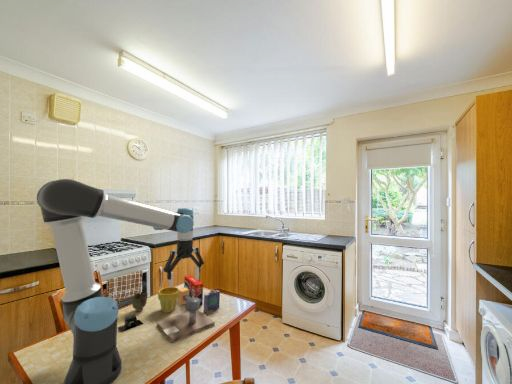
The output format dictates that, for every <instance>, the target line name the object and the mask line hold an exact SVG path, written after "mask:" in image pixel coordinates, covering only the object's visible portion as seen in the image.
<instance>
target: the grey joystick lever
mask: <svg viewBox="0 0 512 384" xmlns="http://www.w3.org/2000/svg"><path fill="white" fill-rule="evenodd" d="M177 303H178V304H180V305H185V306H186V307H185V308H186V309H185V310H186V312H189V311H196V310H200V307H201V306H200V299H199V298H191V297H189V289H187V288H186V287H185V288H184V287H182V288H179V289H178V298H177Z"/></svg>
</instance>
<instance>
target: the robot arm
mask: <svg viewBox="0 0 512 384" xmlns="http://www.w3.org/2000/svg"><path fill="white" fill-rule="evenodd" d="M36 203H37V204H38V206H39V207H40V210H41V216H42V220H43V223H44V224H46V225H48V226H49V227H51V231H52V232H51V233H52V237H53V241H54V246H55V250H56V254H57V258H58V263H59V268H60V272H61V277H62V281H63V285H64V289H65V293H64V294H63V295H62V296H61V297H60V298H61V304H62V308H63V309H62V317H63V319H64V321H65V323H66V324H67V325H68V327H69V329H70V331H71V333H72V335H73V343H72V344H73V346H72V347H73V349H72V360H71V361H70V364H69V365H70V366H69V367H68V370H67V373H66V375H65V378H64V382H63V384H112V383H113V382H114V381H116V379H117V378H118V377H119V376H120V374H121V372H122V368H123V367H122V363H123V362H122V358H121V355H120V352H119V350H118V347H117V339H118V334H117V333H118V316H119V307H118V302H117V301H116V299H114V298H112V297H110V296H109V297H107V296H104V294H103V289H102V285H101V283H98V282H96V280H95V276H94V274H95V273H94V269H93V266H92V260H91V257H90V256H91V255H90V251H89V246H88V240H87V237H86V232H85V227H84V219H85V218H90V219H94V218H95V219H96V218H97V217H103V218H107V219H112V220H116V221H117V220H118V221H122V222H127V223H133V224H137V225H142V226H147V227H151V228H153V229H154V231H165V230H166V231H170V232H175V233H176V234H177V235H176V238H177V240H176V250H170V253H169V256H168V258H167V260H166V262H165V265H164V267H163V269H162V271H163V272H164V273H167V275H166V276H167V277H166V278H167V280H168V287H174V284H173V283H174V272H173V271H174V269H175V268H176V266H177V265H178V264H179V262H180V261H181V260H183V259H184V260H185V259H191V261H192V262H193V263H194V264H195V266H194V278H195V279H196V280H198V281H200V273H201V267H202V266H203V265H205V262H204V260H203V257H202V255H201V254H200V251H199V247H197V246H194V239H193V238H194V223H195V222H194V210H193V208H190V207H180V208H177V211H176V212H174V211H170V210H166V209H163V208H160V207H155V206H152V205H148V204H144V203H141V202H137V201H133V200H129V199H125V198H122V197H119V196H114V195H110V194H108V193H107V192H106V191H105V190H104V189H100V188H98V187H97V188H96V187H94V186H91V185H87V184H85V183H83V182H80V181H77V180H75V179H69V178H60V179H57V180H51V181H48V182H45V184H43V185H42V186H41V187H40V188H39V190H38V192H37V194H36ZM193 246H194V247H193ZM193 252H194V254H195V255H193ZM195 257H196V258H195ZM174 258H175V259H174Z"/></svg>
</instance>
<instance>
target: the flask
mask: <svg viewBox="0 0 512 384" xmlns="http://www.w3.org/2000/svg"><path fill="white" fill-rule="evenodd" d="M220 293H221V291H220V290H218V289H216V290H214V289H213V288H210V291H209V292H206V293H203V294H204V295H203V312H204V314H206V313H209V312H213V311H214V310H215V311H216V310H218V309H220V296H221V295H220Z"/></svg>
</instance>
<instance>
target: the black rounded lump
mask: <svg viewBox="0 0 512 384" xmlns="http://www.w3.org/2000/svg"><path fill="white" fill-rule="evenodd" d="M123 322H124V325H121V326H117V330H119V332H120V333H123V332H127V331H129V330H131V329H135V328H137V327H140V326H143V325H144V324H145V323H144V322H142V321H141V320H140V319H138V318H137V316H136V315H135V314H131V315H127V316H126V317H125V319H124V321H123Z"/></svg>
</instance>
